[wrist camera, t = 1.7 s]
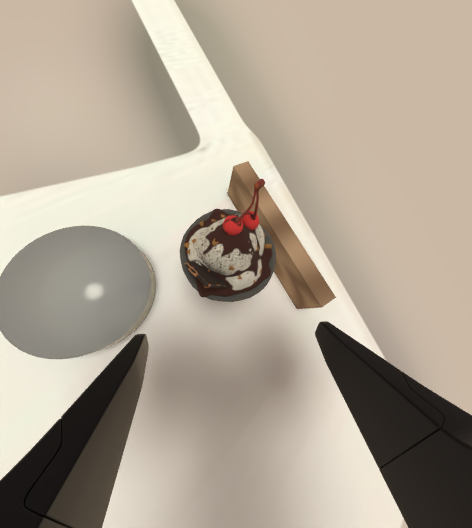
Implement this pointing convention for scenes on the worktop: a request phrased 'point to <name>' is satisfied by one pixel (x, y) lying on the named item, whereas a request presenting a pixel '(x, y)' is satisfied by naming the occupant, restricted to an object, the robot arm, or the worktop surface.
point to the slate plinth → (74, 292)
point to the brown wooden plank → (281, 242)
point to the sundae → (228, 253)
